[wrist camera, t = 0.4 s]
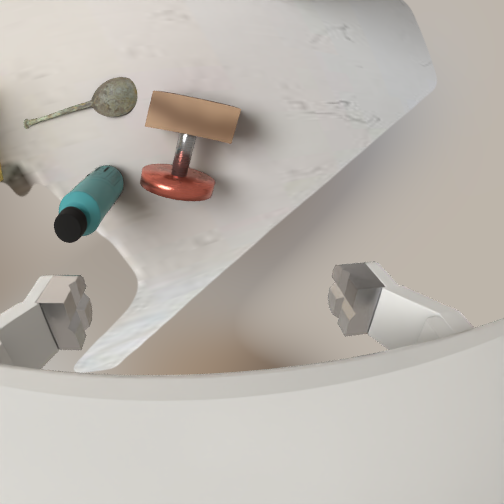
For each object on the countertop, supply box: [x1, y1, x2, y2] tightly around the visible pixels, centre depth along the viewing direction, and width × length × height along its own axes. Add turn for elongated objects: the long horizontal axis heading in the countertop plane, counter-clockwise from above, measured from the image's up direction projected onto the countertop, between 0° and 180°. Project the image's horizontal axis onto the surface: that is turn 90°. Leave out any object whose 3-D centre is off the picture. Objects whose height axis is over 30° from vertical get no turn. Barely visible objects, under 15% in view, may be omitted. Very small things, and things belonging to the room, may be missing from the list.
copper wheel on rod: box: [140, 133, 215, 201], centre depth 42 cm, size 12×11×11 cm
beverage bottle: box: [54, 165, 123, 243], centre depth 40 cm, size 6×7×20 cm
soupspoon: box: [24, 77, 137, 129], centre depth 41 cm, size 22×3×7 cm
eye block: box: [145, 91, 241, 144], centre depth 42 cm, size 5×12×9 cm, turn 74°
